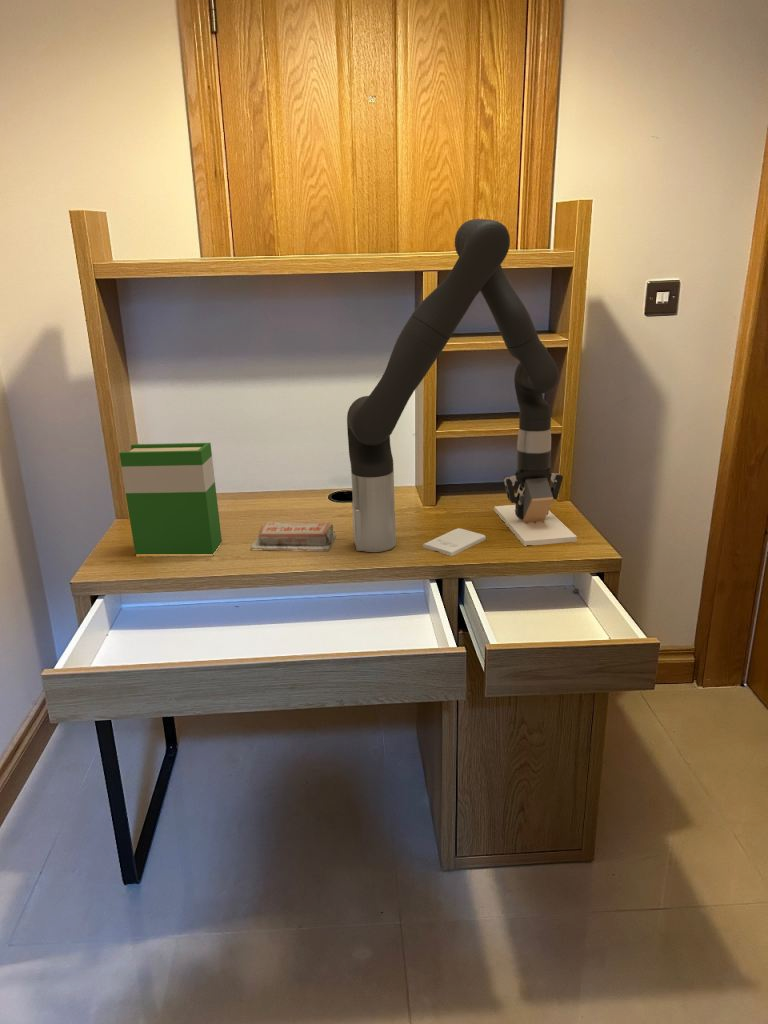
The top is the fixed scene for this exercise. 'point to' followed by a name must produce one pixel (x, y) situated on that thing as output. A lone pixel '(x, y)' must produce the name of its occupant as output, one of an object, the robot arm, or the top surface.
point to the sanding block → (536, 499)
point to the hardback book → (171, 498)
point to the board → (535, 528)
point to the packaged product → (295, 536)
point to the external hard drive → (454, 541)
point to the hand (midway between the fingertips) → (531, 517)
